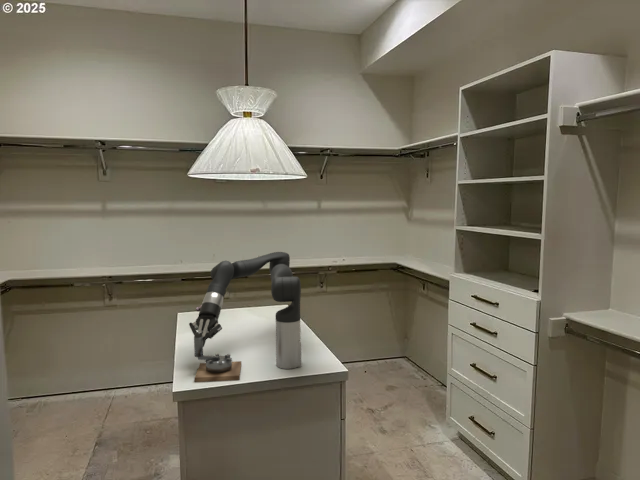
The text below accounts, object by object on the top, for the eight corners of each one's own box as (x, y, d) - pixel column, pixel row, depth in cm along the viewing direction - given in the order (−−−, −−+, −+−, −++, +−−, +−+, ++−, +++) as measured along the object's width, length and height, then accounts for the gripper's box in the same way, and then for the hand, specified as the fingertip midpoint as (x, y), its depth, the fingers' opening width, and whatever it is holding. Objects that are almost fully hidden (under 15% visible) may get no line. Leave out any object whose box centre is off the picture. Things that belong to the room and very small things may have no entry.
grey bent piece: (235, 364, 163) (235, 329, 162) (226, 373, 154) (225, 337, 153) (200, 362, 166) (199, 328, 164) (189, 371, 157) (188, 335, 156)
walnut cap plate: (241, 365, 168) (241, 360, 168) (239, 379, 154) (239, 375, 154) (200, 367, 166) (200, 362, 166) (194, 382, 152) (194, 377, 152)
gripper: (230, 312, 175) (219, 353, 164) (198, 310, 177) (185, 351, 166) (225, 302, 169) (213, 344, 158) (192, 300, 171) (178, 342, 161)
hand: (198, 347), depth 162 cm, fingers closed
